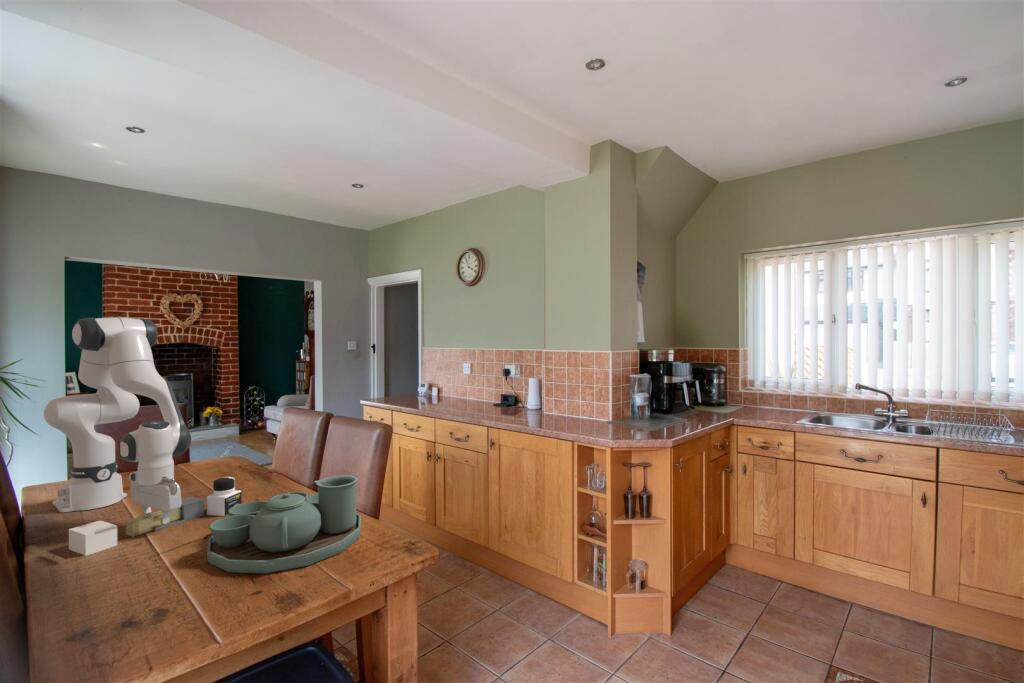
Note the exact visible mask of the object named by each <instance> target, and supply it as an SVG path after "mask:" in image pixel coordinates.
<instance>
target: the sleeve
mask: <svg viewBox="0 0 1024 683" xmlns="http://www.w3.org/2000/svg"><path fill="white" fill-rule="evenodd" d="M181 502H182V504H181V507H182V519H181V520H178V521H174V522H171V523H168V524H165V525H162V526H159V527H156V528H154V530H153V532H157V531H161V530H164V529H167V528H171V527H173V526H176V525H178V524H183V523H185V522H188V521H191V520H195V519H196V518H199V517H200V518H201V517H203V516H205V499H203V498H199V497H196V496H188V497H185V498H181Z"/></svg>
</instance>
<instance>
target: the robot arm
mask: <svg viewBox="0 0 1024 683" xmlns="http://www.w3.org/2000/svg"><path fill="white" fill-rule="evenodd" d="M71 335H72V336H71V337H72V340H73V343H74V345H75V346H76V347H77V348H79V349H80V350H81V355H80V360H79V368H78V374H77V375H78V380H79V381H80V383H81V384H83V385H85V386H87V387H89V388H92V389H95V390H97V391H96V393H95V392H94V393H89V394H85V393H84V394H75V395H65V396H62V397H57V398H54V399H51V400H50V401H49V402H47V404H46V405H45V407H44V409H43V418H44V421H45V422H46V423H47V424H48V425H49V426H50V427H52V428H54V429H57V430H58V431H60V432H62V433H63V434H64V435H65V436H66V437H67V439H69V441H70V443H71V448H72V455H73V456H72V457H73V466H72V467H71V471H70V478H69V480H67V482H65V484H63V486H62V487H61V489H59V490H57V497H58V498H59V499H55V500H53V501H52V503H51V504H53V505H54V506H55V507H56V508H57V509H56V508H55V507H54V506H53V505H52V506H53V507H54V508H55V509H56V510H57V511H58V512H60V513H69V512H78V511H88V510H94V509H100V508H104V507H107V506H111V505H115V504H116V503H119V502H120V501H122V499H124V498H126V497H128V493H126V492H124V489H123V480H122V479H123V478H122V475H121V474H120V473H119V472H118V461H117V460H116V441H115V439H114V438H113V437H112V436H110V435H107V434H105V433H104V434H103V433H100V432H96V429H95V426H96V425H103V424H104V425H105V424H110V423H111V424H112V423H118V422H119V423H120V422H123V421H126V420H129V419H133V418H134V417H136V416H137V414H138V412H140V401H139V399H138V397H137V396H136V395H139V396H142V397H147V398H149V399H152V400H153V401H155V402H156V403H157V405H158V407H159V411H160V412H161V415H162V418H163V420H155V419H154V420H149V421H145V422H142V423H141V424H140V425H139V426H138V428H137V429H136V430H133V431H131V432H127V433H126V434H124V436H122V438H121V439H120V440H119V442H118V454H119V457H120V458H122V460H124V461H126V462H128V463H138V465H137V470H136V471H134V472H130V473H129V481H131V482H130V494H131V495H130V497H131V500H132V502H133V503H134V504H137V505H140V506H141V507H140V508H141V510H142V513H143V515H146V514H150V513H153V512H154V511H152V508H154V509H157V510H159V511H160V510H162V513H163V515H162V518H160V523H162V524H166V523H169V517H170V515H171V513H172V511H173V510H176V509H179V508H180V507H181V504H182V502H181V499H182V494H181V493H182V492H181V487H180V484H179V483H177V482H176V480H175V462H174V458H173V457H179V456H182V455H184V454H185V452H187V451H188V449H189V448H190V446H191V444H192V436H191V432H190V430H189V429H188V427H187V425H186V422H185V421H184V418H183V415H182V413H181V410H180V407H179V404H178V401H177V398H176V396H175V392H174V390H173V388H172V385H171V384H170V381H169V380H168V379H167V378H164V377H162V376H161V375H160V374H159V372H158V371H157V368H156V366H155V363H154V357H153V351H152V347H153V346H154V345H155V344H156V342H157V340H158V337H159V336H158V335H159V331H158V327H157V325H156V324H155V323H154V322H153V321H152V320H150V319H146V318H140V317H139V318H133V317H120V316H119V317H118V316H117V317H97V318H95V317H84V318H80V319H78V320H77V321H76V322H75V323H74V325H73V329H72V333H71Z"/></svg>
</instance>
